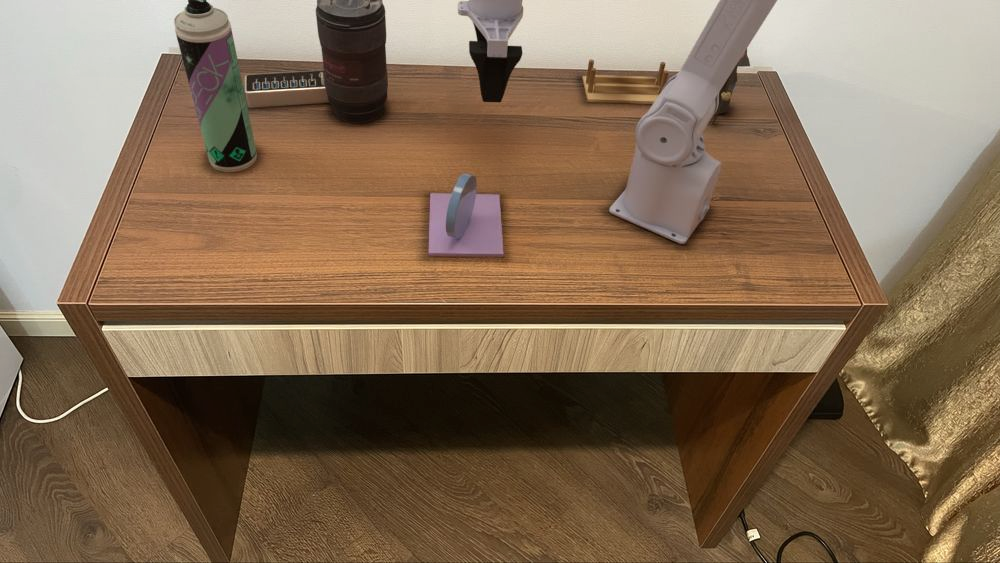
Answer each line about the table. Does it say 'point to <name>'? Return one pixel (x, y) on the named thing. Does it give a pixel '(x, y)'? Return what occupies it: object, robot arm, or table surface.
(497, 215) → the mat
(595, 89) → the rack
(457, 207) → the plate
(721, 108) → the wizard figurine
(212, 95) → the spray can
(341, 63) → the camera lens
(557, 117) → the table surface
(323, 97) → the multiport hub
